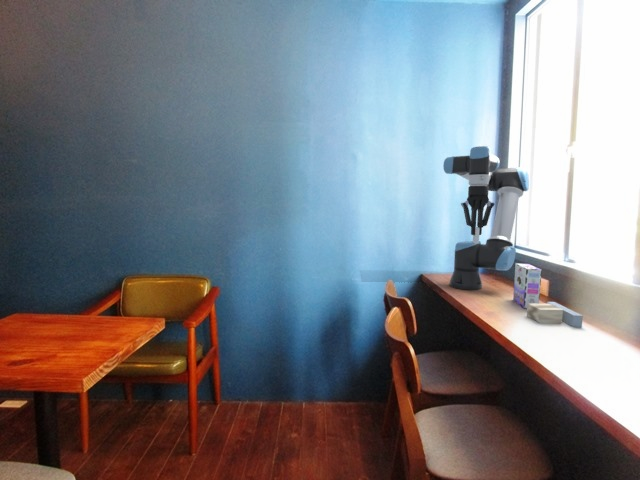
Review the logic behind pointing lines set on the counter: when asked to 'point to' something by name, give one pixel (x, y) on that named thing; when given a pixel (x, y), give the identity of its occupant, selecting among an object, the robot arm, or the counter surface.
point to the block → (544, 313)
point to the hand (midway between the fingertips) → (475, 242)
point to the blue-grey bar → (569, 315)
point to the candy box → (527, 284)
